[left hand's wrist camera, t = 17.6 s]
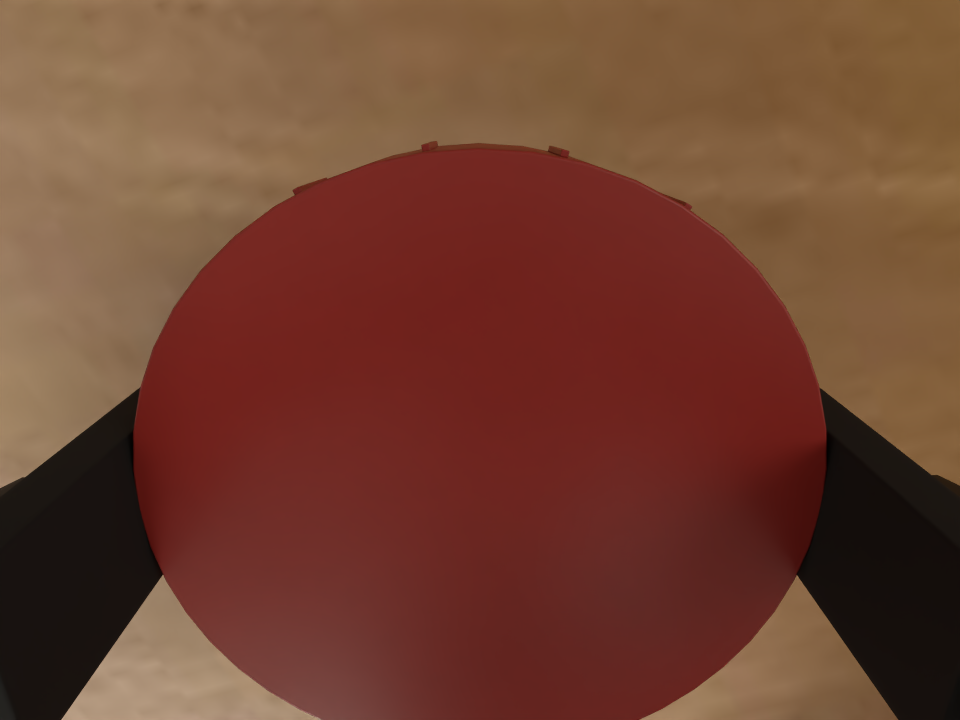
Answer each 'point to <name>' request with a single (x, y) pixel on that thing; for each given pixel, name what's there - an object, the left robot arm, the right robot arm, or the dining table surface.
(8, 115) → the dining table surface
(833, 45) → the dining table surface
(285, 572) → the lid
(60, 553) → the left robot arm
